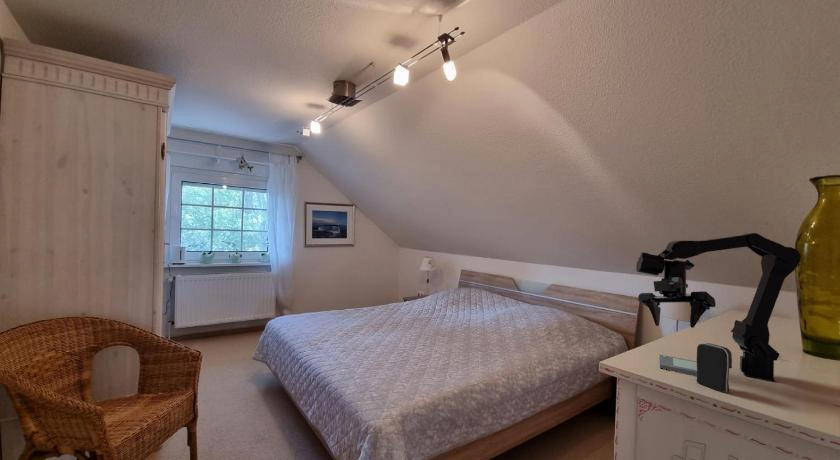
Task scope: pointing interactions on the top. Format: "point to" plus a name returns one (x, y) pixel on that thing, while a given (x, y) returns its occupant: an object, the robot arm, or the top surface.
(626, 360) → the top surface
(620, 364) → the top surface
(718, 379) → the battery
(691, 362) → the charging pad
